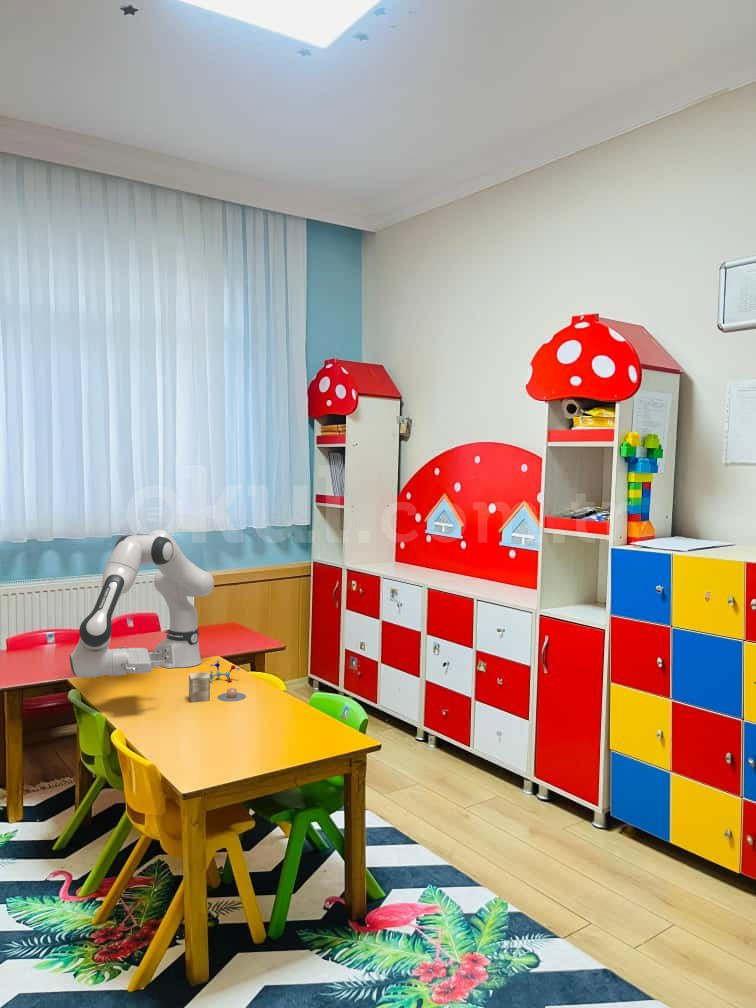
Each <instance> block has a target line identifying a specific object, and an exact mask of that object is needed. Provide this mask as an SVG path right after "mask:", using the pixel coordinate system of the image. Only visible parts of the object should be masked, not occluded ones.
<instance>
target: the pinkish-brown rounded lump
mask: <svg viewBox="0 0 756 1008" xmlns="http://www.w3.org/2000/svg"><path fill="white" fill-rule="evenodd" d="M226 693H227V698H236V697H237V693H238V689H237V688H232V687H231V688H227V689H226Z"/></svg>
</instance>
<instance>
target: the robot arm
mask: <svg viewBox="0 0 756 1008" xmlns="http://www.w3.org/2000/svg"><path fill="white" fill-rule="evenodd" d="M108 558H109V559H107V563H106V565H105V568H104V571H103V575H102V580H101V591H100V592H99V595H98V597H97V600H96V603H95V605H94V607H93V610H92V611H91V612H90V613H89V615H87V616H86V617H85V618H84V619H83V620H82V622H81V623H80V625H79V632H78V633H79V640H78V643H77V644H76V647H75V648H74V650H73V651H72V653H70V655H69V664H70V669H71V673H72V674H73V675H74V676H75V677H78V678H98V677H102V676H110V677H114V676H126V675H127V673H129V674H149V673H151V672H152V669H155V668H158V667H163V668H166V669H173V668H189V667H195V666H198V665H200V664H201V663H202V659H201V658H202V657H201V653H200V645H199V637H200V636H199V635H200V634H199V633H200V631H199V630H200V629H199V628H198V625H199V624H198V623H199V622H198V621H199V620H198V619H199V618H198V617H199V616H198V615H199V613H198V609H197V608H196V606H194V605H193V604H192V603H191V602H190V601H189V600H188V597H190V598H191V597H192V598H200V597H202V598H203V597H208V596H209V595H210V594H211V593H212V592H213V590H214V587H215V579H214V576H213V575H212V574H211V572H208V571H206V570H204V569H201V567H199V566H197V565H196V564H195V563H193V562H192V561H190V560H189V558H187V557H186V556H185V554H184V552H183V551H182V549H181V548H180V546H179V544H178V543H177V542H176V540H175V539H174V538H173V536H172V535H171V534H169V532H167V531H166V530H164V529H154V530H152V531H151V532H149V533H148V534H144V535H143V534H138V535H134V534H133V535H132V534H128V535H127V534H126V535H123V536H121V537H120V538H119V539H118V540H117V541H116V543H115V546H114V549H113V551H112V553H111V554H110V557H108ZM146 565H148V566H149V565H151V566H152V565H155V566H156V567H157V569H158V571H157V573H156V574H155V575H154V579H153V584H154V587H155V589H156V591H157V592H158V593H160V595H161V596H162V597H163V599H164V601H165V602H166V605H167V607H168V611H169V612H168V613H169V614H168V615H169V629H167V630H165V631H164V634H166V637H165V638H164V639H163V640H162V641H160V642H158V644H156V645H155V647H154V650H153V652H152V651H150V652H149V651H148V648H144V647H129V648H126V646H120V647H118V648H112V649H111V648H109V646H110V643H111V638H112V631H113V625H112V624H113V623H112V617H113V614H114V612H115V609H116V608H117V607H116V606H117V604H118V601H119V599H120V598H121V596H122V595H123V594H124V595H125V594H126V593H128V592H129V591H130V589H131V588H132V586H133V585H134V584H135V583H134V582H135V581H136V578H137V576H138V573H139V570H140V567H141V566H146Z"/></svg>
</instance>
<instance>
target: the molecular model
mask: <svg viewBox="0 0 756 1008" xmlns="http://www.w3.org/2000/svg"><path fill="white" fill-rule="evenodd" d="M220 661H221V660H220V659H219V658H218V659H216V660H215V662H216V663H212V662H211V663H210V664H209V666H210V667H214V666H215V667H216V669H217V672H216V673H215V674H214V670H213V669H210V671H209V676H210V685H211V684H213V685H214V681H213V679H214V677H216V680H219V679H221V678H220V677H221V676H224V677H226V680H227V683H229V684H230V683H232V682H233V680H232V679H231V677H230V676H231V672H232V670H236V671H240V670H241V667H239V666H237V667H236V666H235V665H231V666H230V669H229V671H227V672H225V673H222V672H221V671H220V666H221V664H220Z"/></svg>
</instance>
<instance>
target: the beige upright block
mask: <svg viewBox="0 0 756 1008" xmlns="http://www.w3.org/2000/svg"><path fill="white" fill-rule="evenodd" d="M209 675H210V673H208V671H206V672H194V673H188V698H189V701H190V703H201V702H210V701H211V700H210V699H211V695H210V694H211V679H210V676H209Z"/></svg>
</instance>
